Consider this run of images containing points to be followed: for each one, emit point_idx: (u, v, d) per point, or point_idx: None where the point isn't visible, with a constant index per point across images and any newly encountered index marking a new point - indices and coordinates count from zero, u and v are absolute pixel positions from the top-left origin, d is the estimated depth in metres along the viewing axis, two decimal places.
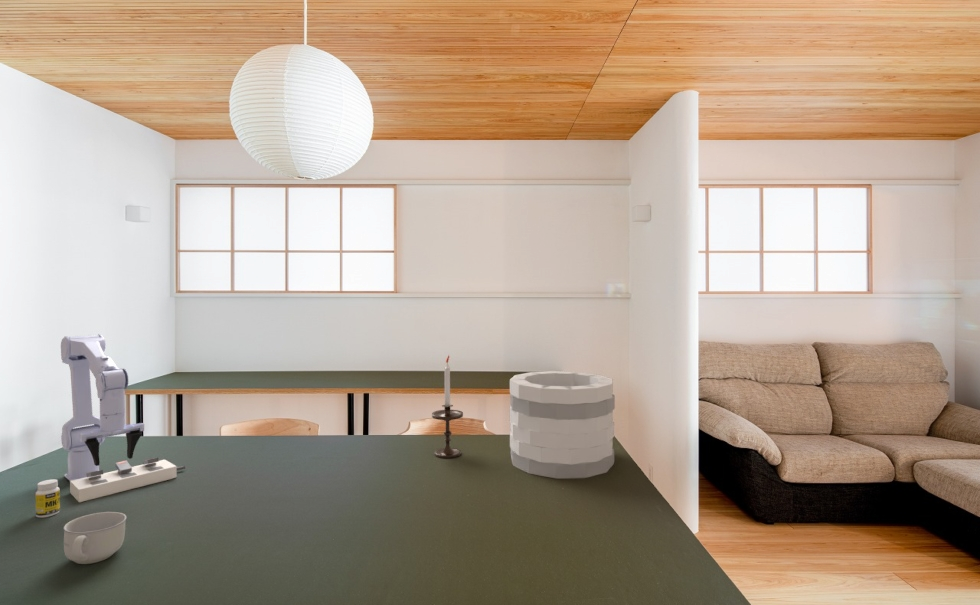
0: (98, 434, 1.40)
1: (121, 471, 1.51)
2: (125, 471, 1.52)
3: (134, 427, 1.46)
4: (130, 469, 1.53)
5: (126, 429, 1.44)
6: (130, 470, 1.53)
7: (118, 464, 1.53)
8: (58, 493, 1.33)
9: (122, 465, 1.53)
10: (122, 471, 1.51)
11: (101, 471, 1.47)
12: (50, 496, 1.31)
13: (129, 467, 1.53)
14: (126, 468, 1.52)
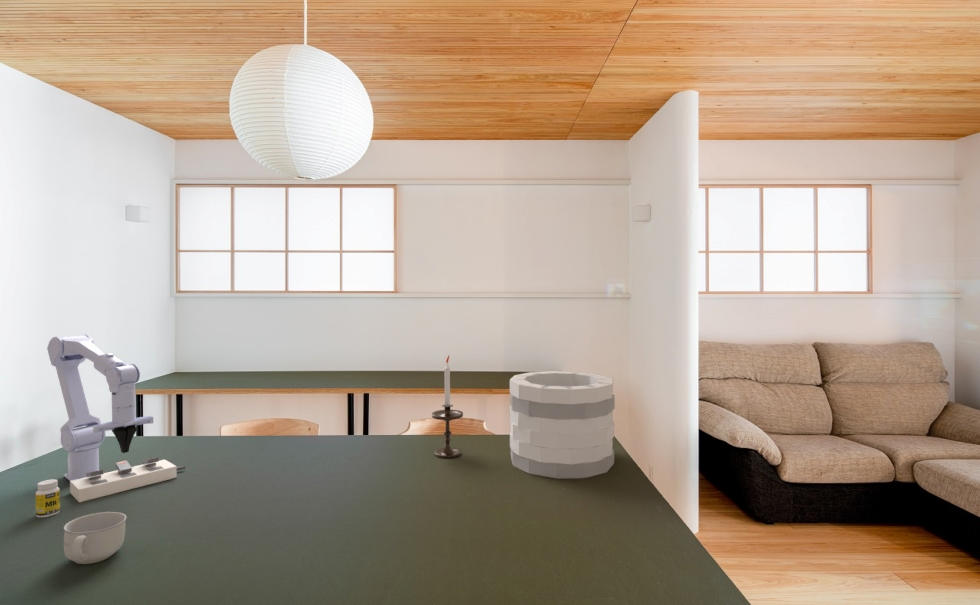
0: (110, 426, 1.48)
1: (121, 471, 1.51)
2: (125, 471, 1.52)
3: (144, 419, 1.55)
4: (130, 469, 1.53)
5: (136, 421, 1.53)
6: (130, 470, 1.53)
7: (118, 464, 1.53)
8: (58, 493, 1.33)
9: (122, 465, 1.53)
10: (122, 471, 1.51)
11: (101, 471, 1.47)
12: (50, 496, 1.31)
13: (129, 467, 1.53)
14: (126, 468, 1.52)
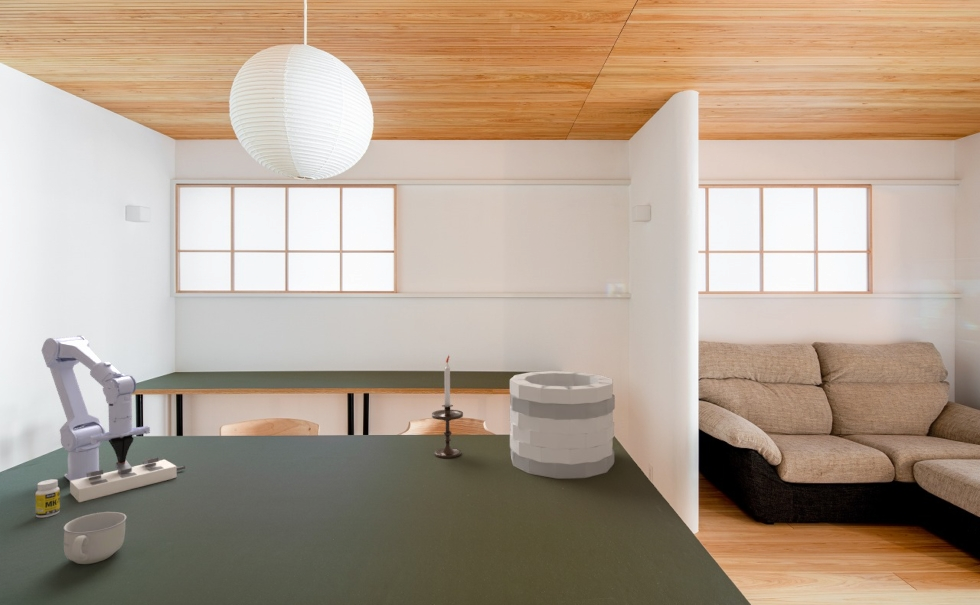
0: (107, 436, 1.50)
1: (121, 471, 1.51)
2: (125, 471, 1.52)
3: (140, 430, 1.57)
4: (130, 469, 1.53)
5: (133, 432, 1.55)
6: (130, 470, 1.53)
7: (118, 464, 1.53)
8: (58, 493, 1.33)
9: (122, 465, 1.53)
10: (122, 471, 1.51)
11: (101, 471, 1.47)
12: (50, 496, 1.31)
13: (129, 467, 1.53)
14: (126, 468, 1.52)
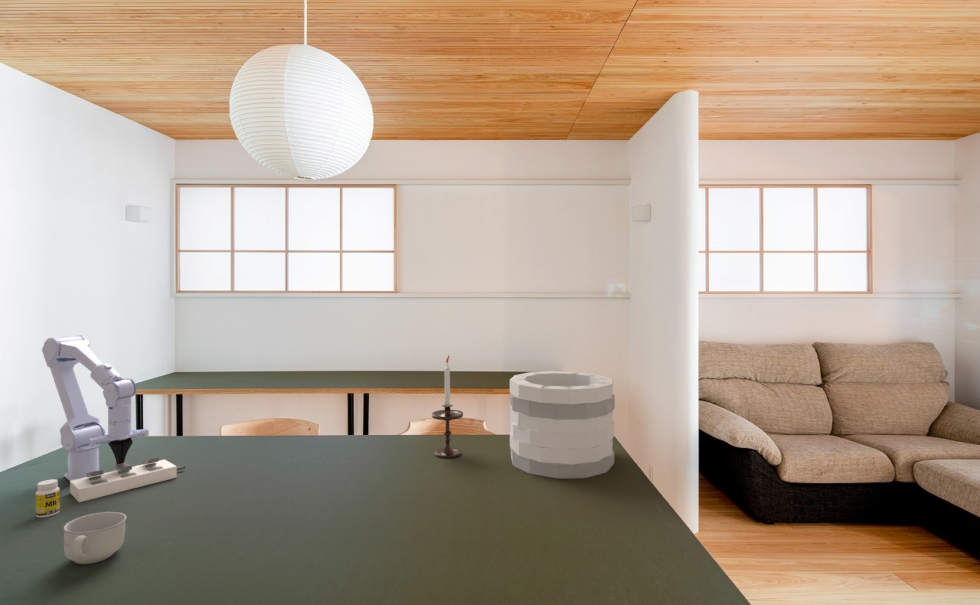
0: (106, 439, 1.51)
1: (121, 469, 1.51)
2: (125, 469, 1.52)
3: (139, 433, 1.58)
4: (130, 467, 1.53)
5: (132, 435, 1.56)
6: (130, 468, 1.53)
7: (118, 465, 1.53)
8: (58, 493, 1.33)
9: (122, 465, 1.53)
10: (122, 469, 1.51)
11: (101, 471, 1.47)
12: (50, 496, 1.31)
13: (129, 465, 1.53)
14: (126, 466, 1.52)
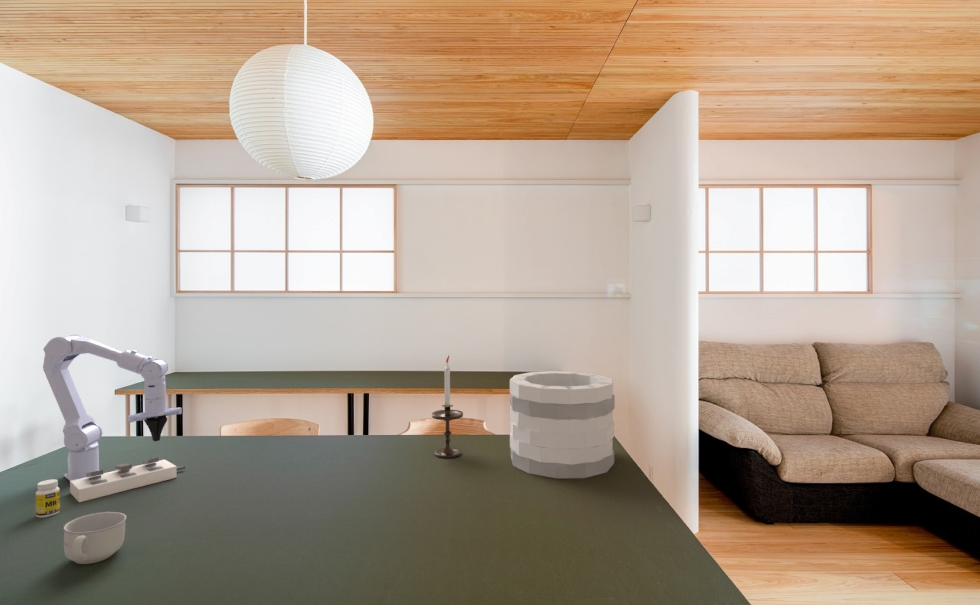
0: (144, 416, 1.60)
1: (121, 468, 1.51)
2: (125, 468, 1.52)
3: (173, 410, 1.66)
4: (130, 466, 1.53)
5: (167, 412, 1.64)
6: (130, 467, 1.53)
7: (118, 465, 1.53)
8: (58, 493, 1.33)
9: (122, 465, 1.53)
10: (122, 468, 1.51)
11: (101, 471, 1.47)
12: (50, 496, 1.31)
13: (129, 464, 1.53)
14: (126, 465, 1.52)
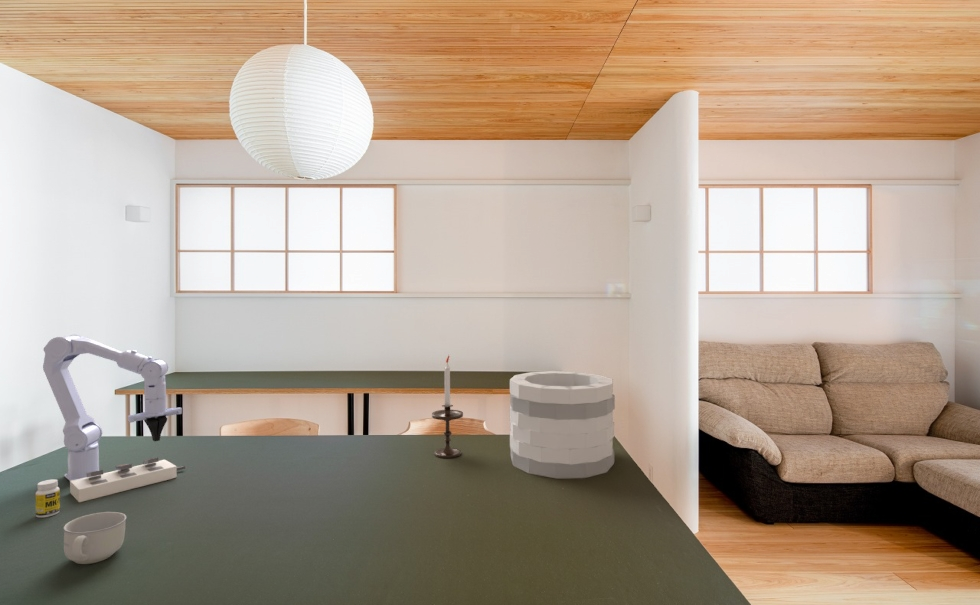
0: (144, 416, 1.60)
1: (121, 467, 1.51)
2: (125, 467, 1.52)
3: (173, 410, 1.66)
4: (130, 465, 1.53)
5: (167, 412, 1.64)
6: (130, 466, 1.53)
7: None
8: (58, 493, 1.33)
9: (122, 465, 1.53)
10: (122, 467, 1.51)
11: (101, 471, 1.47)
12: (50, 496, 1.31)
13: (129, 464, 1.53)
14: (126, 465, 1.52)
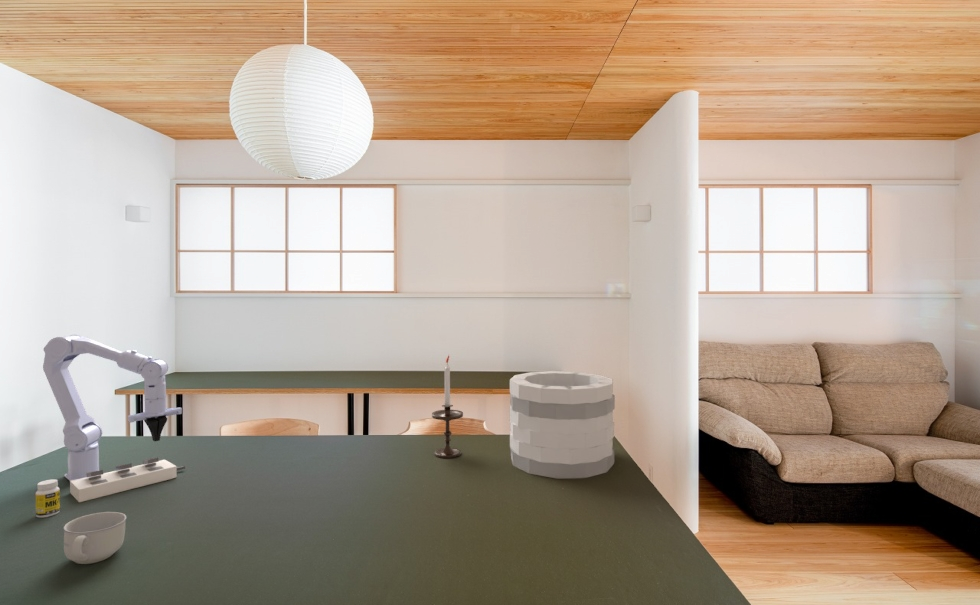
0: (144, 416, 1.60)
1: (121, 466, 1.51)
2: (125, 467, 1.52)
3: (173, 410, 1.66)
4: (130, 464, 1.53)
5: (167, 412, 1.64)
6: (130, 466, 1.53)
7: (118, 466, 1.53)
8: (58, 493, 1.33)
9: (122, 465, 1.53)
10: (122, 466, 1.51)
11: (101, 471, 1.47)
12: (50, 496, 1.31)
13: None
14: (126, 464, 1.52)
